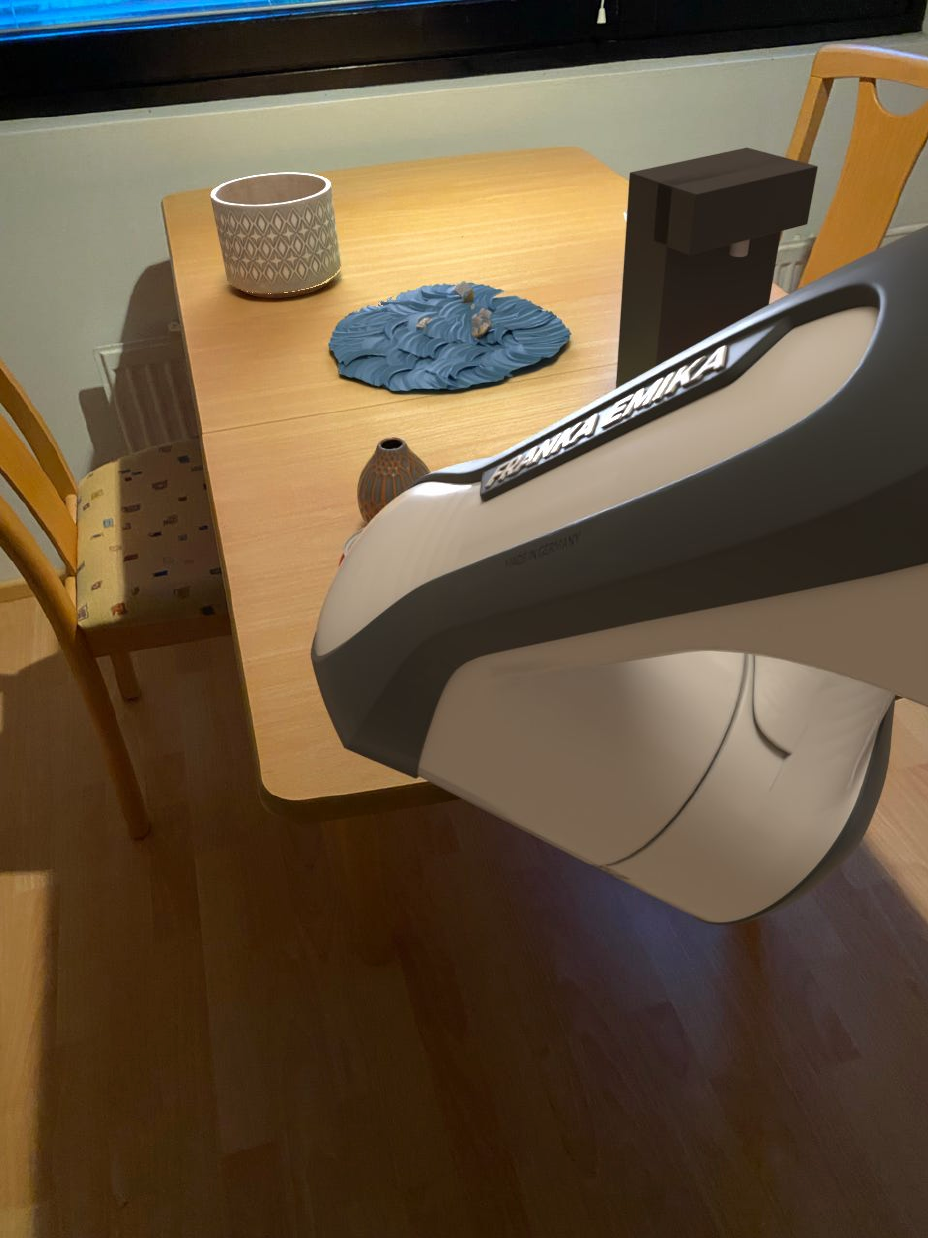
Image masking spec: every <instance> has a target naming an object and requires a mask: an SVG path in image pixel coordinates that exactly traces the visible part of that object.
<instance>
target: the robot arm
mask: <svg viewBox="0 0 928 1238" xmlns="http://www.w3.org/2000/svg"><path fill="white" fill-rule="evenodd" d="M363 528H364V529H363ZM363 528H362V529H363V531H362V532H361V533H360V535H359V536H358V538H357V539H356V540H355V542H354V543H353V545H352V546H351V548H350V549H349V551H348V552H347V554H346V555H345V557H344V559H343V561H342V562H341V564H340V566H339V565H338V568H337V570H336V572H335V574H334V576H333V578H332V580H331V583H330V584H329V587H328V589H327V592H326V594H325V596H324V599H323V602H322V605H321V608H320V611H319V615H318V619H317V620H318V621H317V623H316V631H315V633H314V636H313V639H312V643H311V647H310V660H311V663H312V669H313V673H314V676H315V680H316V684H317V686H318V690H319V693H320V696H321V698H322V701H323V704H324V707H325V709H326V712H327V714H328V716H329V719H330V721H331V724H332V726H333V728H334V730H335V733H336V735H337V736H338V738H339V741H340V742H341V745H342V747H343V749H345V750H347V751H349V752H352V753H355V754H357V755H359V756H362V757H364V758H366V759H369V760H371V761H373V762H375V763H378V764H380V765H382V766H385V767H387V768H389V769H392V770H395V771H396V772H399V773H401V774H404V775H407V776H408V777H411V778H413V779H415V780H417V779H418V778H421V779H423V780H425V781H427V782H429V783H430V784H433V785H435V786H437V787H439V788H441V789H442V790H445V791H446V792H448V793H450V794H452V795H454V796H456V797H458V798H460V799H462V800H463V801H466V802H468V803H469V804H471V805H474V806H476V808H477V807H478V808H479V809H481V810H483V811H485V812H487V813H489V814H491V815H493V816H495V817H496V818H499V819H500V820H503V821H504V822H506V823H508V824H510V825H512V826H514V827H516V828H518V829H520V830H522V831H524V832H526V833H527V834H530V835H531V836H534V837H536V838H537V839H540V840H541V841H543V842H545V843H547V844H549V845H551V846H553V847H554V848H557V849H558V850H560V851H563V852H565V853H567V854H568V855H570V856H572V857H574V858H576V859H578V860H580V861H582V862H584V863H586V864H588V865H591V866H593V867H595V868H597V869H598V870H600V871H602V872H604V873H606V874H608V875H610V876H612V877H614V878H616V879H618V880H619V881H621V882H624V883H626V884H628V885H630V886H631V887H633V888H635V889H637V890H639V891H640V892H643V893H645V894H647V895H649V896H651V897H653V898H655V899H657V900H659V901H661V902H663V903H666V904H667V905H669V906H671V907H673V908H675V909H677V910H679V911H682V912H684V913H686V914H688V915H690V916H692V917H693V918H694V919H696V920H698V921H700V922H702V923H704V924H707V925H712V926H730V925H737V924H743V923H747V922H752V921H755V920H757V919H761V918H763V917H766V916H769V915H771V914H773V913H777V912H778V911H780V910H783V909H785V908H786V907H788V906H790V905H792V904H794V903H795V902H797V901H798V900H800V899H802V898H804V897H805V896H806V895H808V894H809V893H811V892H812V891H813V890H815V889H817V888H818V887H819V886H820V885H821V884H822V883H823V882H825V881H826V880H827V879H828V878H830V877H831V876H832V875H833V874H834V873H835V872H836V871H837V870H838V869H839V868H840V867H841V866H842V865H843V864H844V863H845V862H846V861H847V860H848V858H850V857H851V856H852V854H853V853H854V852H855V851H856V849H857V848H858V847H859V845H860V844H861V842H862V841H863V839H864V837H865V836H866V833H867V831H868V828H869V827H870V824H871V822H872V819H873V817H874V816H875V815H874V814H875V812H876V810H877V807H878V805H879V802H880V798H881V795H882V792H883V789H884V786H885V783H886V779H887V775H888V774H887V773H888V768H889V763H890V758H891V757H890V756H891V748H892V738H893V737H892V736H893V724H894V715H895V707H896V706H895V705H896V696H897V697H900V698H903V699H905V700H908V701H911V702H913V703H915V704H919V705H921V706H923V707H926V708H928V224H927V225H925V226H923V227H920V228H919V229H916V230H914V231H911V232H910V233H907V234H906V235H903V236H901V237H900V238H897V239H895V240H893V241H891V242H889V243H888V244H885V245H883V246H881V247H878V248H877V249H874V250H873V251H870V252H869V253H866V254H864V255H863V256H861V257H859V258H857V259H854V260H852V261H850V262H849V263H846V264H845V265H842V266H841V267H838V268H836V269H834V270H832V271H830V272H828V273H826V274H824V275H823V276H821V277H819V278H817V279H814V280H813V281H811V282H809V283H807V284H805V285H803V286H802V287H800V288H798V289H796V290H794V291H792V292H789V293H788V294H786V295H784V296H781V298H778V299H777V300H775V301H773V302H771V303H769V305H767V306H765V307H763V308H762V309H760V310H758V311H756V312H754V313H752V314H751V315H749V316H747V317H745V318H743V319H741V320H739V321H738V322H736V323H734V324H732V325H730V326H728V327H727V328H725V329H723V330H721V331H719V332H718V333H716V334H714V335H712V336H710V337H709V338H707V339H705V340H703V341H701V342H699V343H698V344H696V345H694V346H692V347H690V348H688V349H687V350H685V351H683V352H681V353H679V354H678V355H676V356H674V357H672V358H670V359H669V360H667V361H665V362H663V363H661V364H660V365H658V366H656V367H654V368H652V369H651V370H649V371H647V372H645V373H643V374H642V375H640V376H638V377H636V378H634V379H633V380H631V381H629V382H627V383H626V384H624V385H622V386H620V387H618V388H617V389H616V388H615V389H613V390H611V391H610V392H608V393H606V394H604V395H602V396H600V397H599V398H597V399H595V400H594V401H592V402H590V403H588V404H586V405H584V406H582V407H581V408H579V409H577V410H575V411H574V412H572V413H570V414H568V415H567V416H564V417H563V418H561V419H559V420H557V421H556V422H554V423H552V424H550V425H549V426H547V427H544V428H543V429H541V430H540V431H538V432H536V433H534V434H532V435H531V436H529V437H527V438H525V439H524V440H521V441H520V442H518V443H516V444H514V445H512V446H510V447H509V448H507V449H505V450H503V451H501V452H499V453H497V454H495V455H492V456H487V457H482V458H477V459H472V460H468V461H464V462H460V463H459V462H458V463H456V464H452V465H449V466H446V467H443V468H439V469H437V470H434V471H432V472H430V473H429V474H426V475H424V476H422V477H420V478H419V479H417V480H416V481H414V482H413V483H412V484H411V485H409V486H408V487H407V488H406V489H405V490H404V491H403V492H402V493H401V494H400V495H399V496H398V497H396V498H395V499H394V500H392V501H391V502H390V503H389V504H387V505H386V506H385V507H384V508H383V509H382V510H381V511H380V512H379V513H378V514H377V515H376V516H375V517H374V518H373V519H372V520H371V521H370V522H369V524H368V525H366V526H365V527H363Z"/></svg>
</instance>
